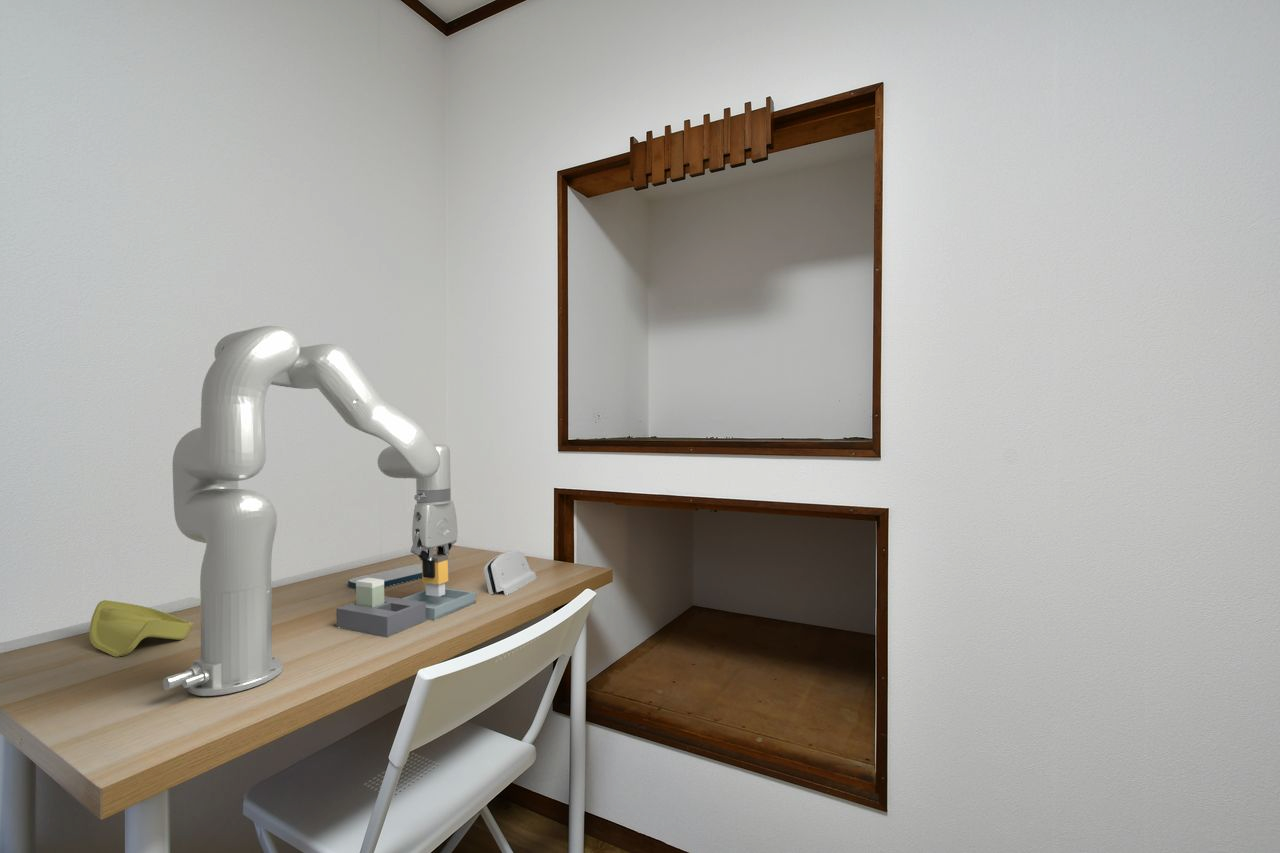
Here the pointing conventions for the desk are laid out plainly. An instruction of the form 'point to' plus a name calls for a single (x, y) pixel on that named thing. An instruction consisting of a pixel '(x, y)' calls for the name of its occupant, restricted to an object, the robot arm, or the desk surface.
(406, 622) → the block
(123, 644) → the plastic component
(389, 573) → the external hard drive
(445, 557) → the block
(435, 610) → the parts tray
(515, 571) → the grey slotted holder
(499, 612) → the desk surface
